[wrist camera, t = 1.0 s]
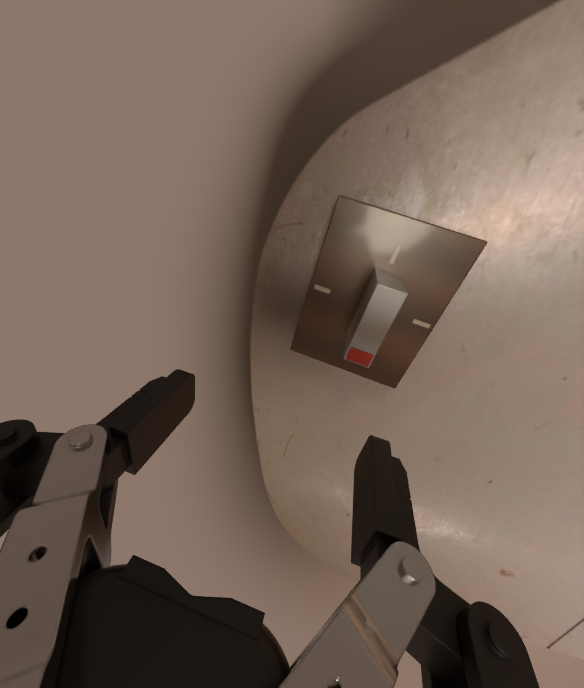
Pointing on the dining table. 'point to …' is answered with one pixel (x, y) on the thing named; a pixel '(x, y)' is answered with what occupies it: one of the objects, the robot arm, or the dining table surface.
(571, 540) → the dining table surface
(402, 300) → the tap handle
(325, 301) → the panel
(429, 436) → the dining table surface
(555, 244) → the dining table surface
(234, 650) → the robot arm
